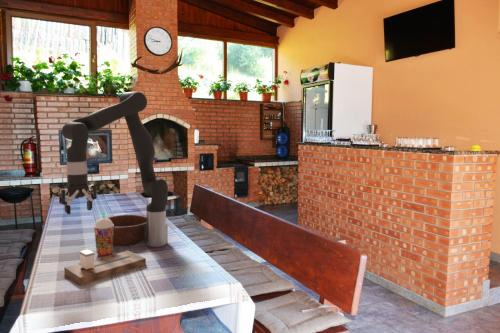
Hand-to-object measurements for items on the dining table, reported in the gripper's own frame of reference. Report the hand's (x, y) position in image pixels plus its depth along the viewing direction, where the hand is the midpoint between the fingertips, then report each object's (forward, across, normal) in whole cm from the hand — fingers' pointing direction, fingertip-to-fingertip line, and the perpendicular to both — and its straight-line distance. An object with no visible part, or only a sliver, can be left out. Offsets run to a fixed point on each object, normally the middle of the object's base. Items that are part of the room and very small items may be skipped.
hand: (79, 212), depth 158 cm
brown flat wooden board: (+24, -6, +9) cm, 26 cm away
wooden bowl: (+25, -33, -20) cm, 46 cm away
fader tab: (+20, +2, +9) cm, 22 cm away
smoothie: (+24, -14, -8) cm, 29 cm away
